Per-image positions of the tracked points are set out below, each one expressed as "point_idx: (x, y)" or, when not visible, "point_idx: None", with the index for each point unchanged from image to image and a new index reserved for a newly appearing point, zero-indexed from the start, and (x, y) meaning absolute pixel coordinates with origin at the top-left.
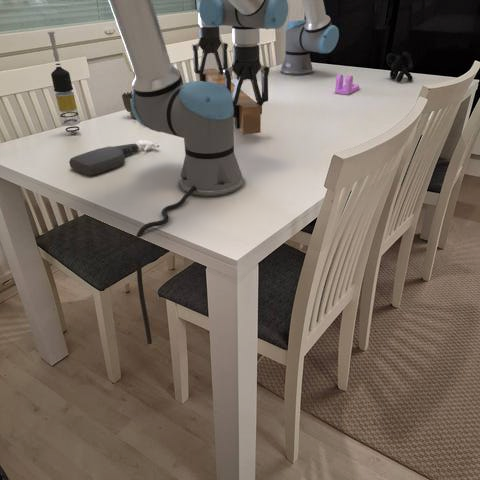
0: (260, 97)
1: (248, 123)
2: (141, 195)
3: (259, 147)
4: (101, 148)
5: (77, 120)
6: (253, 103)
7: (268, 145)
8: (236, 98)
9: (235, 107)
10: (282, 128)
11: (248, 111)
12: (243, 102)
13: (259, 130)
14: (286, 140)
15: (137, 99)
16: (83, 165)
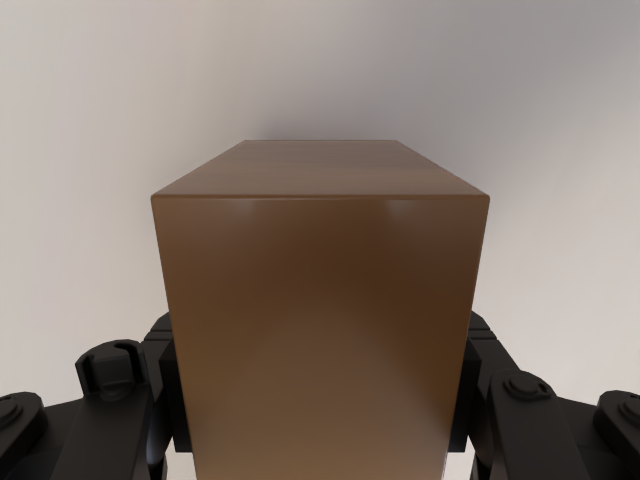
0: (76, 456)
1: (359, 151)
2: None
3: (292, 28)
4: None
5: None
6: (238, 364)
7: (216, 49)
8: (546, 477)
9: (483, 378)
10: (60, 333)
11: (375, 179)
12: (365, 445)
13: (250, 140)
14: (65, 110)
15: None
16: None
